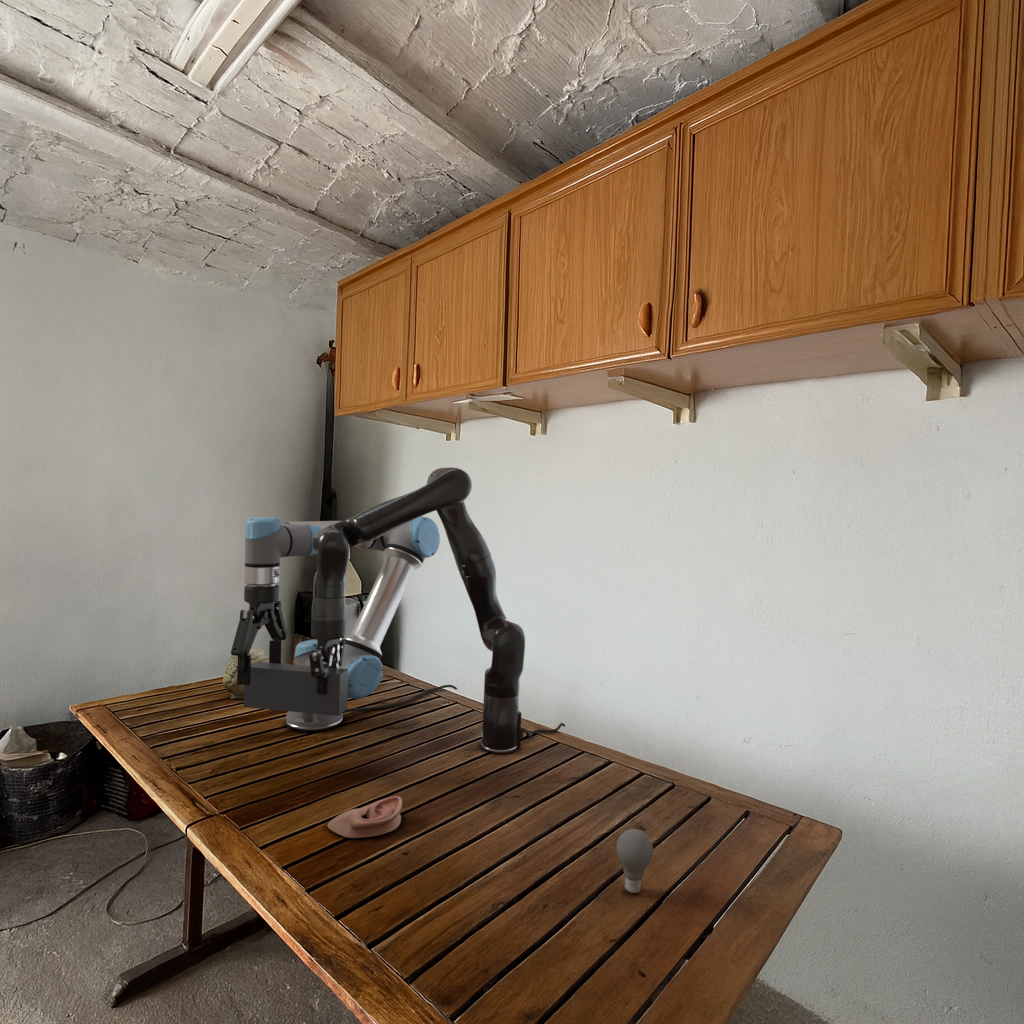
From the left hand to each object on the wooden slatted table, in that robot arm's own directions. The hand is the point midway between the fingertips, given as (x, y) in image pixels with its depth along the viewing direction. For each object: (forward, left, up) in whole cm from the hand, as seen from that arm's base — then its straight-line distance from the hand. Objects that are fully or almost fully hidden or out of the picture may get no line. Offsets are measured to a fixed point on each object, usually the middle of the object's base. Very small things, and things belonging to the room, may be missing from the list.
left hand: (260, 675), depth 147 cm
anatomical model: (-1, +39, -21) cm, 44 cm away
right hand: (-8, +15, -2) cm, 17 cm away
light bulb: (-17, +88, -21) cm, 92 cm away
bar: (-4, +8, -7) cm, 11 cm away
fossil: (-27, -49, -21) cm, 59 cm away
